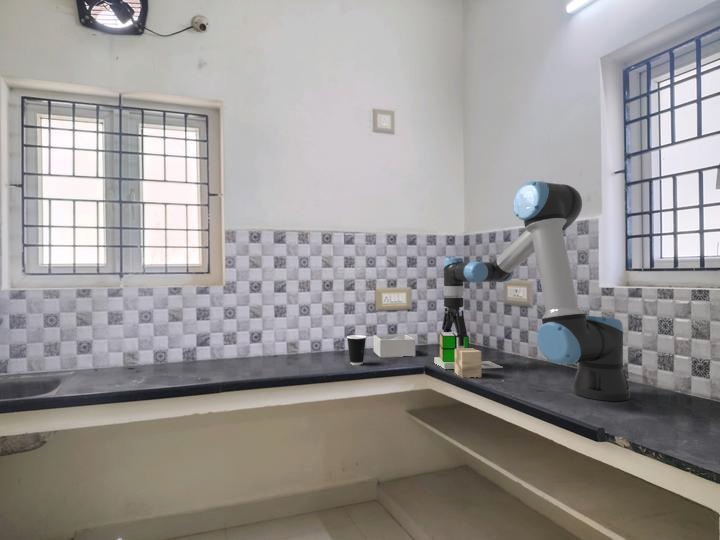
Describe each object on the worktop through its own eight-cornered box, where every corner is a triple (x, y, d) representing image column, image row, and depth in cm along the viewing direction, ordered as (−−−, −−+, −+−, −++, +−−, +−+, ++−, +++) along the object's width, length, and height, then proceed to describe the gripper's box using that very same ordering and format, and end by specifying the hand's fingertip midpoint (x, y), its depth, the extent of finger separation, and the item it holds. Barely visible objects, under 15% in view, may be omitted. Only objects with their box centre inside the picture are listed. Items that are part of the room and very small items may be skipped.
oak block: (481, 377, 153) (481, 351, 153) (462, 378, 152) (462, 352, 152) (473, 373, 160) (473, 348, 160) (454, 373, 159) (454, 348, 159)
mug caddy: (415, 356, 192) (415, 339, 192) (380, 357, 190) (380, 340, 190) (406, 350, 208) (405, 334, 208) (373, 351, 205) (373, 335, 205)
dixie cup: (368, 365, 173) (368, 337, 173) (349, 366, 171) (349, 338, 171) (363, 361, 181) (363, 334, 181) (344, 362, 179) (344, 335, 179)
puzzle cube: (464, 357, 176) (464, 332, 177) (469, 362, 166) (469, 335, 167) (439, 357, 177) (439, 332, 177) (442, 361, 167) (442, 335, 167)
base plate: (474, 368, 167) (474, 362, 167) (444, 369, 165) (444, 363, 165) (462, 362, 179) (462, 356, 179) (434, 363, 177) (434, 357, 177)
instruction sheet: (503, 367, 169) (503, 367, 169) (481, 368, 167) (481, 367, 167) (489, 361, 180) (489, 361, 180) (468, 362, 179) (468, 361, 179)
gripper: (476, 298, 160) (476, 356, 160) (451, 295, 185) (451, 345, 185) (456, 298, 159) (456, 357, 159) (434, 295, 184) (434, 346, 184)
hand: (453, 351), depth 172 cm, fingers open, 13 cm apart
